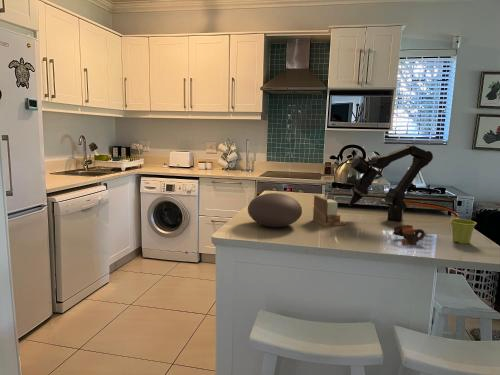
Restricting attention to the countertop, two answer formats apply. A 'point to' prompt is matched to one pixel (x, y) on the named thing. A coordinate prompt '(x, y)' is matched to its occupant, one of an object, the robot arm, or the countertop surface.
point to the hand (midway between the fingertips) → (349, 205)
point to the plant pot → (462, 230)
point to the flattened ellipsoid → (274, 210)
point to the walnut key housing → (324, 213)
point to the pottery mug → (409, 234)
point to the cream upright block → (331, 207)
